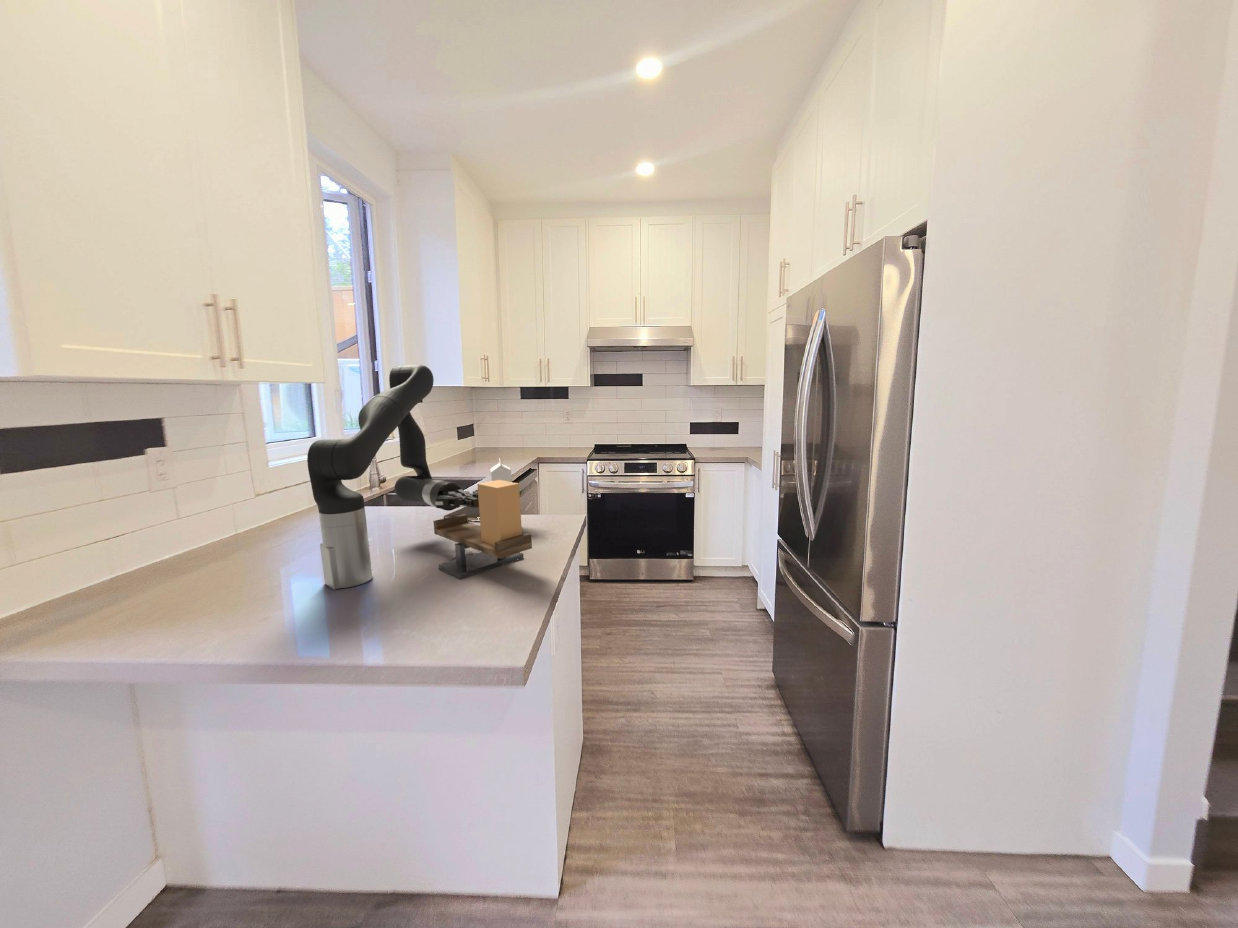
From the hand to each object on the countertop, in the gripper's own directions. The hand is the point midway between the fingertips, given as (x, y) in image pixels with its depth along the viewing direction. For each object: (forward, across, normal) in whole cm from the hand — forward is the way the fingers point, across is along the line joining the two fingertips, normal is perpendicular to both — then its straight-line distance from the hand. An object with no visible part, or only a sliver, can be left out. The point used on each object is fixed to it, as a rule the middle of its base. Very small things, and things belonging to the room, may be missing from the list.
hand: (476, 503), depth 123 cm
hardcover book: (-46, +29, +16) cm, 57 cm away
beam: (0, 0, +10) cm, 10 cm away
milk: (-22, +22, +16) cm, 35 cm away
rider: (+9, 0, +8) cm, 12 cm away
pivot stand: (0, 0, +16) cm, 16 cm away
